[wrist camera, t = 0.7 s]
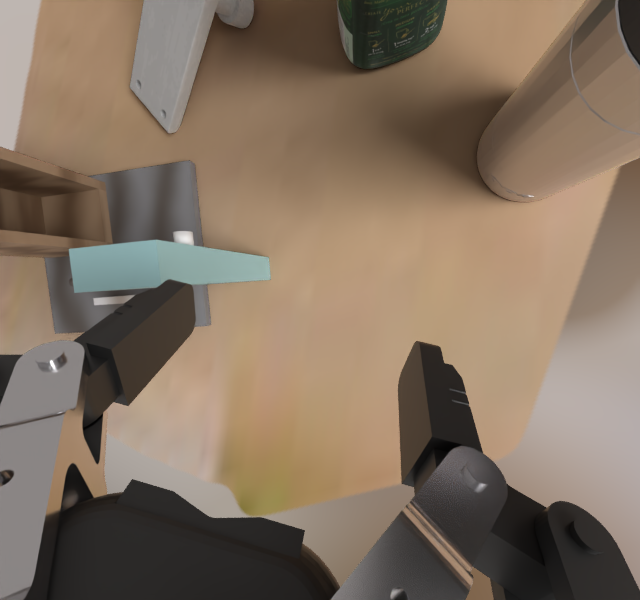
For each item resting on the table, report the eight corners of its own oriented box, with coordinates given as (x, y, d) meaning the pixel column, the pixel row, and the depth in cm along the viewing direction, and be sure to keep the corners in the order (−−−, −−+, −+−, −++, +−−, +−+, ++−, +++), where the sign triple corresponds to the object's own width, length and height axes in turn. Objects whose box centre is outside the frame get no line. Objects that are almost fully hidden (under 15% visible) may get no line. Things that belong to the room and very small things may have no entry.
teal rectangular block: (267, 248, 34) (153, 220, 16) (270, 279, 34) (161, 286, 16) (221, 252, 35) (66, 231, 17) (224, 283, 35) (74, 292, 17)
